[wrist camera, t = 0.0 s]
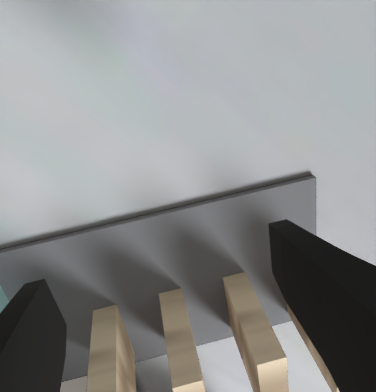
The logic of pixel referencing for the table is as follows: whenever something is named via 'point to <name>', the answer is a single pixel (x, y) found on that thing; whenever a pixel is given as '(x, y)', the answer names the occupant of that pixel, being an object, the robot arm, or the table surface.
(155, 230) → the domino mat
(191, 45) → the table surface
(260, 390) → the domino
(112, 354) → the domino
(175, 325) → the domino
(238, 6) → the table surface
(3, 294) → the domino
